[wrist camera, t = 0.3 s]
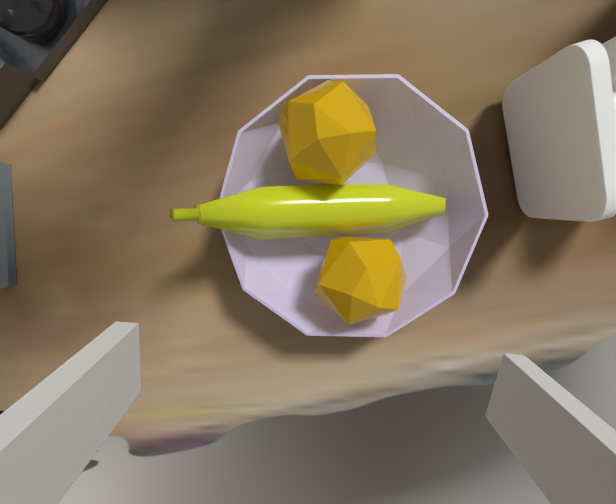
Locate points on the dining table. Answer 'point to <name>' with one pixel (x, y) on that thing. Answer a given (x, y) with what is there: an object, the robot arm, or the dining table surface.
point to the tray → (6, 230)
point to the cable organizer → (565, 134)
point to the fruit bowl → (349, 205)
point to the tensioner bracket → (36, 43)
